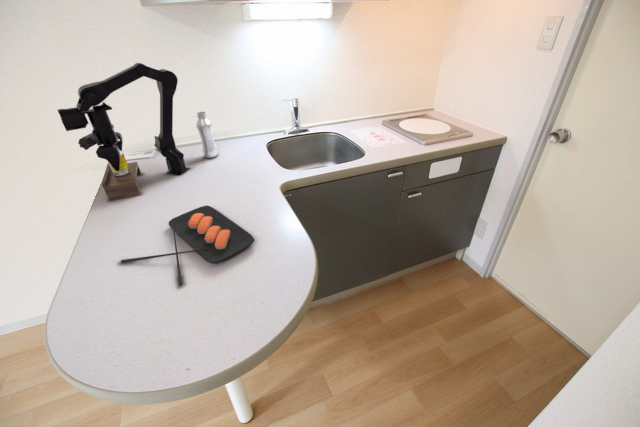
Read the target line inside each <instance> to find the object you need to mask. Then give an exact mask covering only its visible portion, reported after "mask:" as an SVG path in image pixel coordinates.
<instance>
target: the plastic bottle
mask: <svg viewBox="0 0 640 427" xmlns="http://www.w3.org/2000/svg"><path fill="white" fill-rule="evenodd" d="M196 116H197V121H196V129H197V131H198V132H197V133H198V134H199V138H200V140H201V146H202V153H203V156H204V157H205V158H215V157H217V156H218V154H219V150H218V147H217V145H216V142H215V139H214V133H213V124H212V122H211V121H210V120H209V119H208V118H207V117H208V115H207V112H206V111H198V112H196Z"/></svg>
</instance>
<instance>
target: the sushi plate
mask: <svg viewBox="0 0 640 427" xmlns="http://www.w3.org/2000/svg"><path fill="white" fill-rule="evenodd" d="M168 226H169V227H170V229H171V230H172V232H173V240H174V248H175V252H171V253H163V254H156V255H155V254H154V255H148V256H147V255H146V256H140V257H134V258H127V259H126V258H125V259H121V260H120V263H121V264H125V263H130V262H131V263H132V262H137V261H145V260H149V259H155V258H161V257H169V256H174V255H175V259H176V268H177V278H178V284H179V286H183V280H182V272H181V266H180V260H179V255H180V254H187V253H193V252H196V254H197V255H199V256H200V257H201V258H202V259H203V260H204V261H206V262H208V263H210V264H218V263H221V262H223V261H225V260H227V259H229V258H232V256H234V255H236V254H238V253H239V252H242V251H243V250H245V249H247V248H249V247H250V246H252V245H253V243H254V242H255V237H254V236H253V235H252V234H251V233H249V232H248V231H247V230H245V229H244V228H242V226H240V225H239V224H237V223H235V222H234V221H233V220H231V218H229V217H227V216H226V215H224V214H223V213H222V212H220V211H219V210H217V208H215V207H212V206H211V205H203V206H199V207H196V208H194V209H192V210H189V211H187V212H185V213H182V214H180V215H178V216H175V217H173V218H172V219H170V220H169V221H168ZM176 235H178V236H179V237H180V238H181V239H182V240H183V241H184V243H186V244H187V245H188V246H189V247H190V248H191V250H185V251H178V246H177V238H176Z"/></svg>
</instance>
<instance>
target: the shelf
mask: <svg viewBox="0 0 640 427" xmlns="http://www.w3.org/2000/svg"><path fill="white" fill-rule="evenodd" d="M127 164H128V167H129V169H130V172H129V173H128V174H126V175H123V176H115V175H114V174H113V172H112V169H111V167H110V165H109V163H108V162H107V164H106V168H105V171H104V174H103V177H102V181H101V186H102V188H103V190H104V192H105V195H106V197H107V199H108V201H109V202H111V201H116V200H120V199H125V198H131V197H136V196H140V195H141V191H140V189H139V186H138V183H137V180H138V177H139V176H142V175H143V174H142V171H141V168H140V166H139V162H138V161H133V162H127Z"/></svg>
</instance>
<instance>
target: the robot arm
mask: <svg viewBox="0 0 640 427" xmlns="http://www.w3.org/2000/svg"><path fill="white" fill-rule="evenodd" d="M143 77H145V78H148V79H150V80H154V81H155V82H156V87H157V90H158V93H159V134H158V136H157V135H154V147H155V148H156V151H157V152H158V153H159V154H161V156H162V157H164V158H165V163H166V166H167V170H168V171H167V172H166V174H168V175H175V176H182V174H184V173H185V172H187V171H189V170H190V167H187V165H186V161H185V159H184V155H185V154H184V153H183V152H182V151H181V150H179V149H178V148H177V147H176V142H175V139H174V138H175V137H174V135H173V134H174V133H173V124H174V123H173V121H174V120H173V117H174V113H173V112H174V95H175V94H176V91H177V86H178V82H179V81H178V77H177V75H176V73H174V72H173V71H171V70H168V69H165V68H161V69H156V68H153V67H151V66H147V65H146V64H144V63H141V62H136V63H134V64H133V65H131V66H130V67H128V68H125V69H124V70H122V71H121V70H120V71H119V72H117V73H116V74H113V75H111V76H109V77H107V78H105V79H103V80H100V81H94V82H90V83H86V84H84V85H81V86H80V87H78V91H77V95H78V97H79V98H78V101H77V103H76V106H75V107H69V108H58V109H57V112H58V114H59V117H60V121H61V123H62V125H63V127H64V129H65V131H66V132H69V131H71V132H72V131H75V130H81V129H86V128H87V126H88V125H89V124H91V127H92V130H91V132H90V133H89V134H87V135H85V136H82V137H81V138H78V142H77V143H78V145H79V147H80V148H82V149H84V151H87V150H89V149H90V148H91V147H93V146H95V145H97V146H98V147H97V148H96V151H95V154H96V155H97V158H99V159H103V160H106V161H107V163H108V162H109V163H110V164H111V165H112V167H113V168H114V169H115V170H116V171H119V170H120V152H119V151H122V152H123V142H124V141H123V139H124V138H123V135H122V134H121V133H120V132H118V131H115V125H114V124H112V121H111V119H110V116H109V114H108V112H107V111H111V110H113V107H112V106H111V105H109V104H107V103H106V102H105V100H106V99H107V98H108V97H109V96H110V95H111V94H112V93H114V92H115V91H117V90H120V89H122V88H123V87H126V86H128V85H129V84H131V83H133V82H135V81H137V80H139V79H141V78H143ZM86 115H87V116H86ZM87 117H88V119H87ZM88 120H89V121H88Z"/></svg>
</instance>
